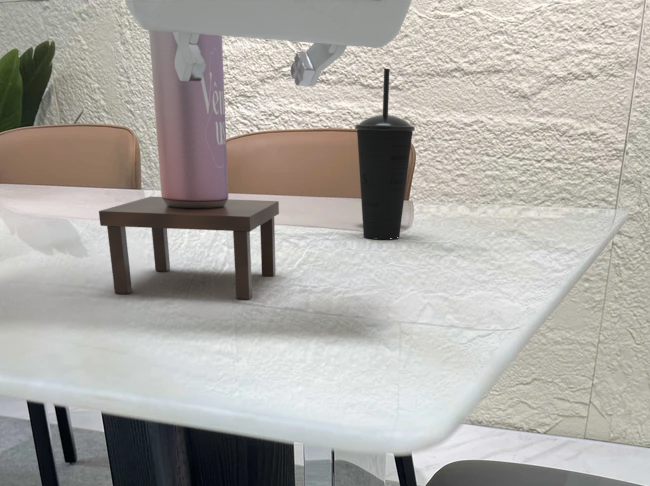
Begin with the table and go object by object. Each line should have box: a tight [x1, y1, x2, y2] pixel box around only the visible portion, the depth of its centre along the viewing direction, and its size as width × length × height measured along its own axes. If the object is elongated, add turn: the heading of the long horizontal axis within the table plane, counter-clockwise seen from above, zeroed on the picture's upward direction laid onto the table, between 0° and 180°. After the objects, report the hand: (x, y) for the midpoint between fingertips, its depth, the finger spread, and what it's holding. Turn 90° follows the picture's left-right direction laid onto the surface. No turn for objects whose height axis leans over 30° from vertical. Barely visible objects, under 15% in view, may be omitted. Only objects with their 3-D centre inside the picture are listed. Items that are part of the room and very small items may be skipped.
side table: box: [98, 196, 280, 300], centre depth 72 cm, size 13×13×7 cm
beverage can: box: [148, 30, 229, 209], centre depth 67 cm, size 6×6×15 cm
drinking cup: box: [354, 68, 416, 240], centre depth 99 cm, size 8×8×20 cm
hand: (246, 77), depth 58 cm, fingers open, 8 cm apart
